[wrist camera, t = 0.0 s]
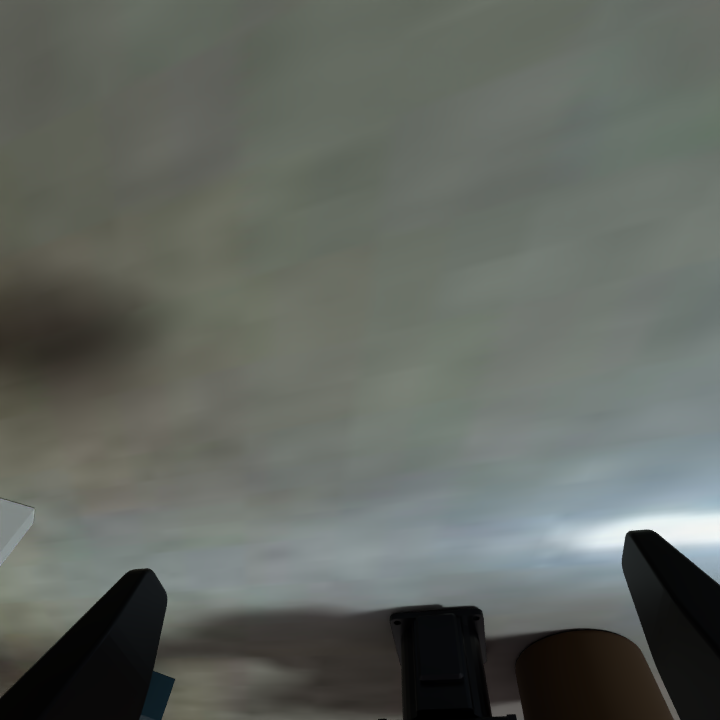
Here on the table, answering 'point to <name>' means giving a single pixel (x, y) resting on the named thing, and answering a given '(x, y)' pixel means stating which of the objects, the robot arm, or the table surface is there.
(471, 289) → the table surface
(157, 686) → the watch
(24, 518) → the slotted rail
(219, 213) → the table surface
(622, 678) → the olive oil
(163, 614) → the robot arm
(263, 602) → the table surface
